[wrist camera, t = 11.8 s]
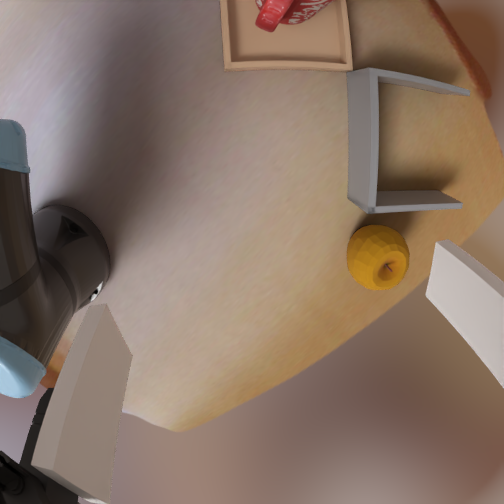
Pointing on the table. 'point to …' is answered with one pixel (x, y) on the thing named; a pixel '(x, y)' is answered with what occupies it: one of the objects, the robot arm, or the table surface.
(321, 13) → the tray
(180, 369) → the table surface
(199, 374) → the table surface
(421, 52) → the table surface
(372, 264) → the apple
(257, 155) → the table surface
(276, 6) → the mug
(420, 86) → the bay
